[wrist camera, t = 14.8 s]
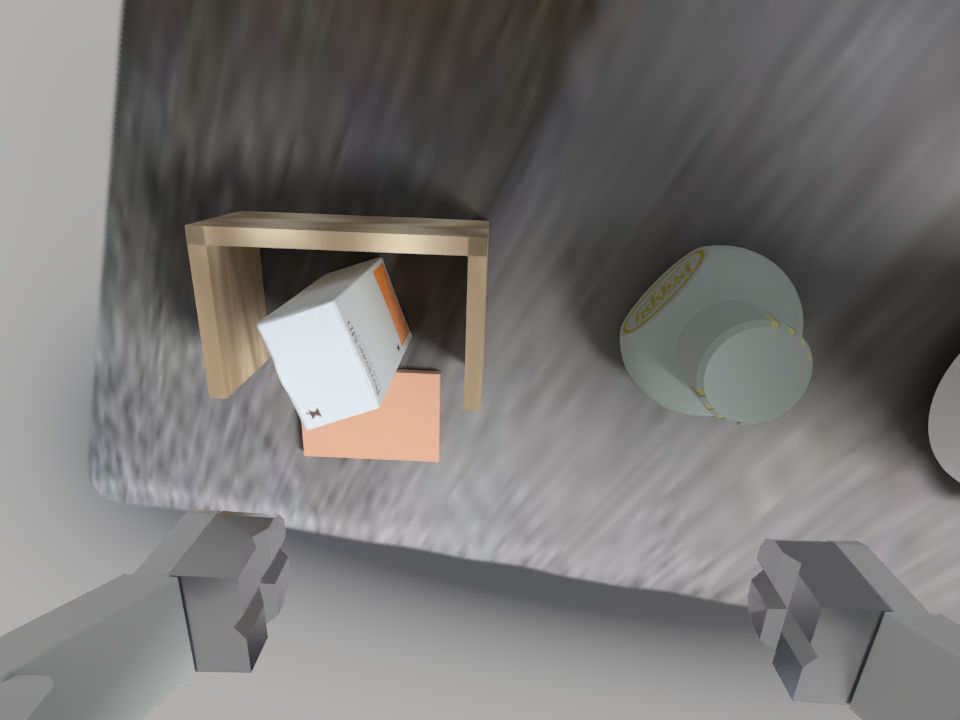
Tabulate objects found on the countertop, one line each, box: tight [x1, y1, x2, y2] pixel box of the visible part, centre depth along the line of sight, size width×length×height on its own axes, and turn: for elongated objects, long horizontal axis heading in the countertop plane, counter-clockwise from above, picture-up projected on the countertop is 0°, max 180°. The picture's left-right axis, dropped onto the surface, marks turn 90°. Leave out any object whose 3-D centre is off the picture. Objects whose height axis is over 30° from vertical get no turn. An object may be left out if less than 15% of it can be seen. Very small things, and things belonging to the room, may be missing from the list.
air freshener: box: [620, 245, 813, 425], centre depth 34 cm, size 11×8×10 cm
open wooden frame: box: [184, 211, 489, 410], centre depth 35 cm, size 16×10×7 cm, turn 88°
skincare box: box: [257, 257, 412, 430], centre depth 33 cm, size 6×4×12 cm
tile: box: [301, 369, 441, 462], centre depth 41 cm, size 10×7×1 cm
